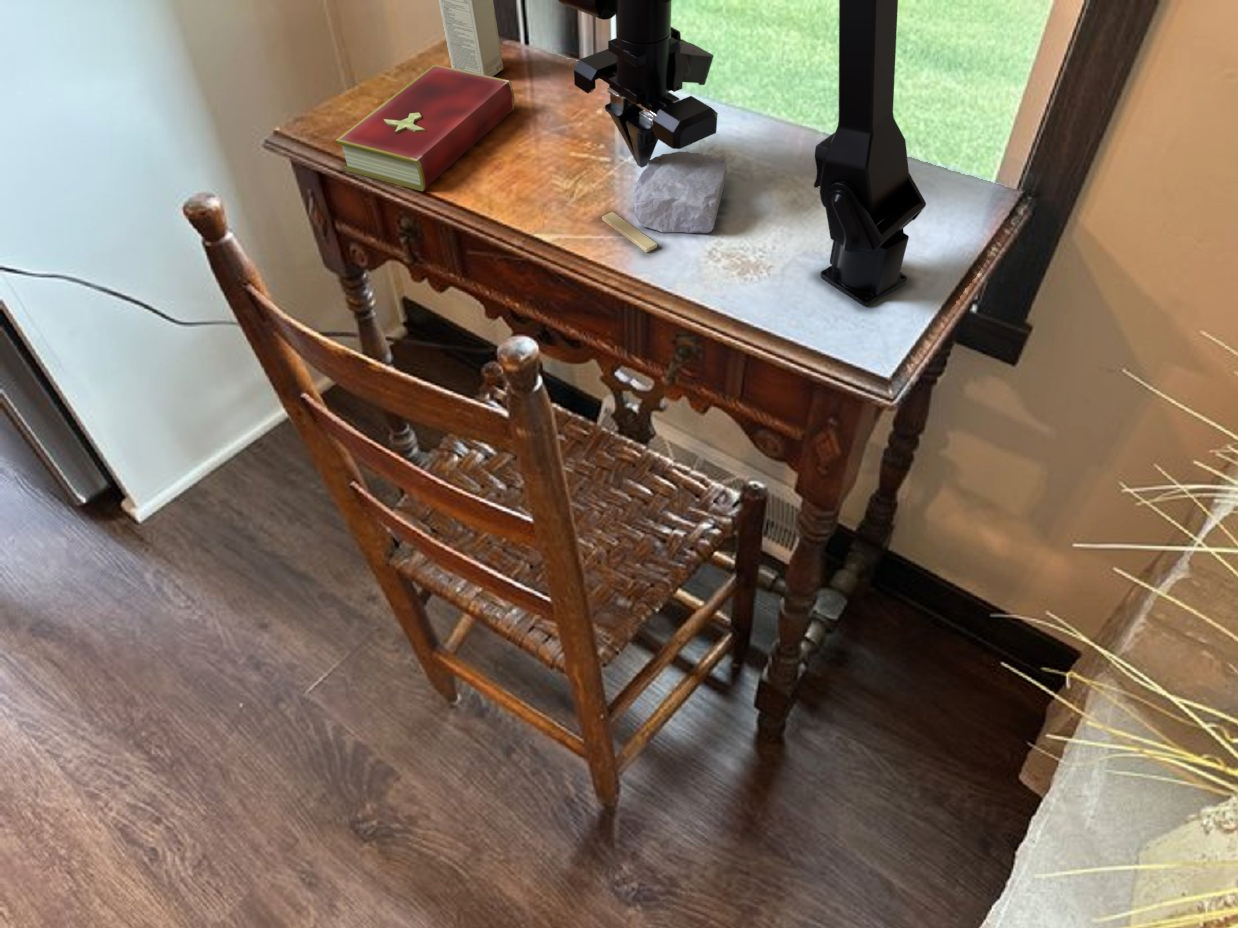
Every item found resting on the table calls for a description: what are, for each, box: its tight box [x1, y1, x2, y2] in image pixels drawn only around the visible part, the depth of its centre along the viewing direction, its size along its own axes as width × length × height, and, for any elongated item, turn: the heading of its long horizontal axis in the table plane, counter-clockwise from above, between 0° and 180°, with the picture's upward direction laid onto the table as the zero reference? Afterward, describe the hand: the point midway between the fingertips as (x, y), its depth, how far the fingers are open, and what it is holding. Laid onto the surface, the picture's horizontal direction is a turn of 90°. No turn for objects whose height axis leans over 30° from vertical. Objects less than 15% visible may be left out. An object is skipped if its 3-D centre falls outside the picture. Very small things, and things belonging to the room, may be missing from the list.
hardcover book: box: [334, 63, 515, 192], centre depth 114 cm, size 12×21×4 cm, turn 154°
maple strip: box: [601, 211, 658, 253], centre depth 101 cm, size 8×2×1 cm, turn 38°
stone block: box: [632, 150, 728, 234], centre depth 103 cm, size 12×5×10 cm
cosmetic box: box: [438, 0, 504, 77], centre depth 123 cm, size 6×4×12 cm
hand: (642, 165), depth 107 cm, fingers closed
